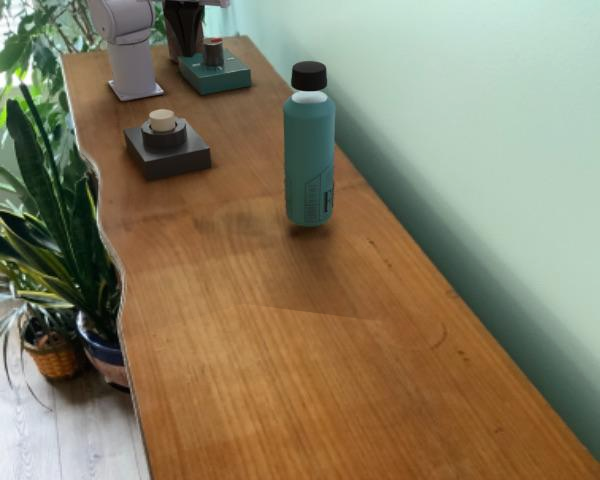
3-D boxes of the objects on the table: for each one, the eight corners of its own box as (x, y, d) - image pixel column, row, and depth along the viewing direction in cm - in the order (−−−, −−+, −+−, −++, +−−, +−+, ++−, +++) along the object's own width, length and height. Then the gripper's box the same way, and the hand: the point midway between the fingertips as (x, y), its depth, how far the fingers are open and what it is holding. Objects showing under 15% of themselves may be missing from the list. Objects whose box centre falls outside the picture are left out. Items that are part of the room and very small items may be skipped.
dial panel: (180, 73, 122) (177, 55, 119) (228, 64, 125) (226, 47, 122) (201, 94, 114) (199, 76, 112) (251, 85, 117) (250, 67, 115)
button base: (126, 148, 100) (120, 116, 96) (186, 135, 103) (182, 104, 99) (148, 181, 92) (142, 148, 89) (212, 167, 95) (208, 134, 92)
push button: (148, 125, 95) (146, 111, 93) (171, 121, 96) (169, 107, 94) (155, 134, 93) (153, 121, 91) (178, 130, 94) (176, 116, 92)
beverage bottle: (328, 240, 82) (334, 77, 67) (279, 234, 83) (274, 73, 68) (336, 214, 86) (344, 56, 71) (289, 209, 87) (287, 52, 72)
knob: (207, 67, 115) (204, 44, 113) (199, 60, 118) (197, 37, 115) (227, 63, 117) (225, 40, 114) (219, 57, 119) (217, 34, 116)
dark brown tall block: (165, 55, 128) (147, -65, 114) (199, 49, 131) (186, -68, 116) (176, 67, 124) (159, -56, 109) (211, 61, 126) (199, -60, 111)
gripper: (233, -51, 92) (240, 50, 102) (141, -56, 94) (156, 43, 104) (218, -39, 87) (226, 65, 97) (122, -45, 90) (139, 58, 99)
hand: (189, 55), depth 100 cm, fingers closed
